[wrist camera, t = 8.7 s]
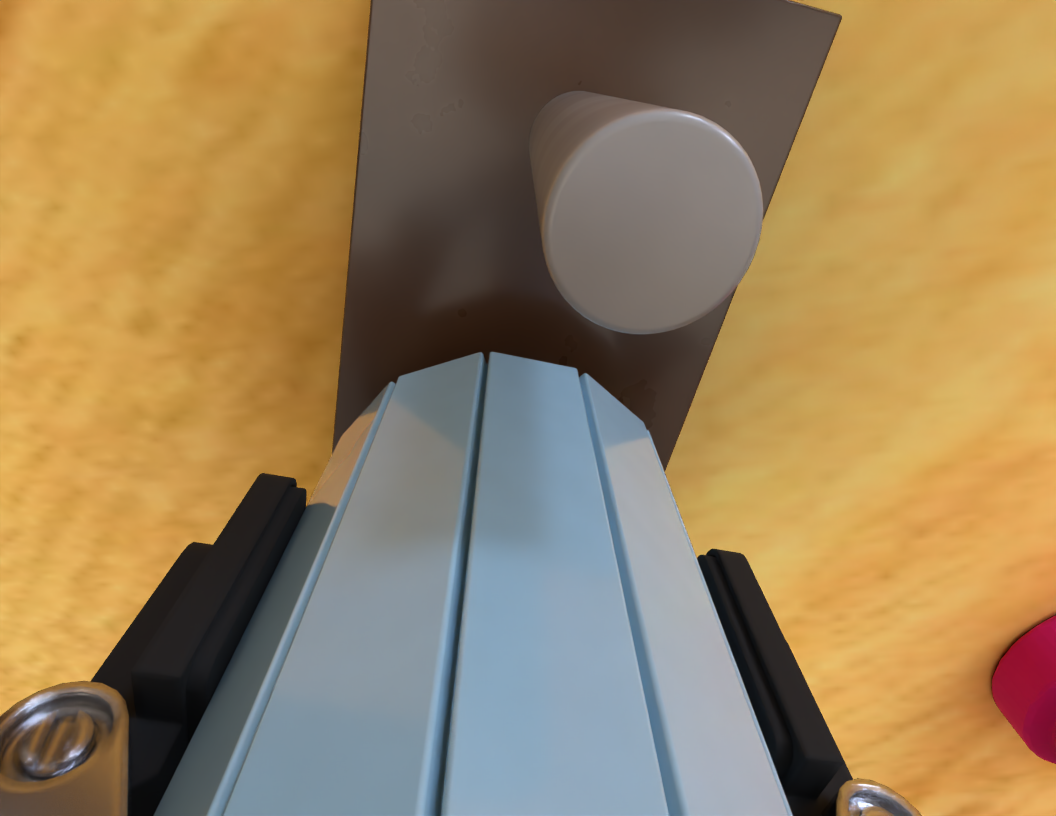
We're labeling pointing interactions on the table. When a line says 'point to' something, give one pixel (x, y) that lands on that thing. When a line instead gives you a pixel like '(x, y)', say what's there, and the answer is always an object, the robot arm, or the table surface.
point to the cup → (484, 625)
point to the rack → (567, 186)
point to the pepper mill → (1030, 688)
